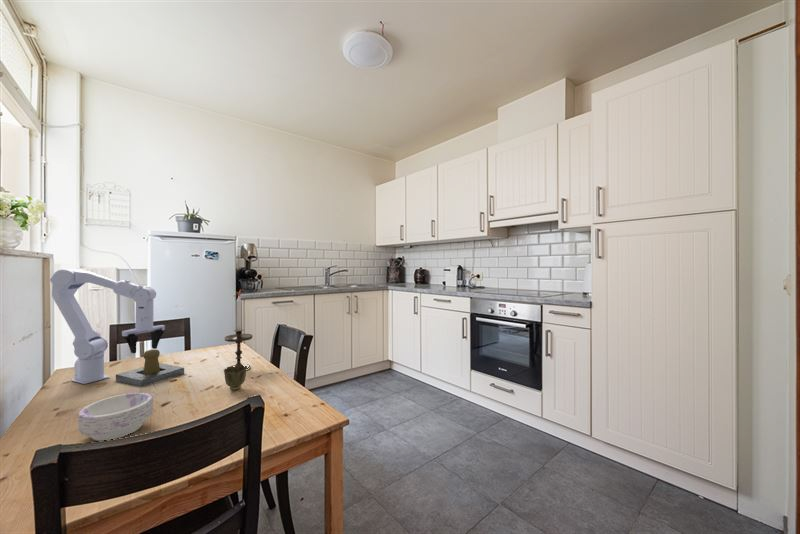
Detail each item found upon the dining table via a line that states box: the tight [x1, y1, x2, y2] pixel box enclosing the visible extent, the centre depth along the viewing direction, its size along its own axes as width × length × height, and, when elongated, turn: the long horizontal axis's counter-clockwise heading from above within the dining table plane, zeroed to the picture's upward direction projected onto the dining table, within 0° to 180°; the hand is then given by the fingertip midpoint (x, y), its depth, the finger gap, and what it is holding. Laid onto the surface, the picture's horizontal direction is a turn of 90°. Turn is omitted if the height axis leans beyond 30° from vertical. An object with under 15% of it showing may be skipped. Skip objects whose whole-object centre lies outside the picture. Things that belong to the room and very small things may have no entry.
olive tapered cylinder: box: [142, 349, 161, 375], centre depth 129 cm, size 6×6×11 cm
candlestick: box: [224, 289, 253, 369], centre depth 140 cm, size 11×11×35 cm
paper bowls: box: [77, 392, 154, 442], centre depth 87 cm, size 15×15×8 cm
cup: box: [223, 365, 247, 392], centre depth 117 cm, size 8×7×8 cm
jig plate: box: [115, 362, 185, 388], centre depth 129 cm, size 16×16×2 cm
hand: (144, 350), depth 131 cm, fingers open, 7 cm apart
